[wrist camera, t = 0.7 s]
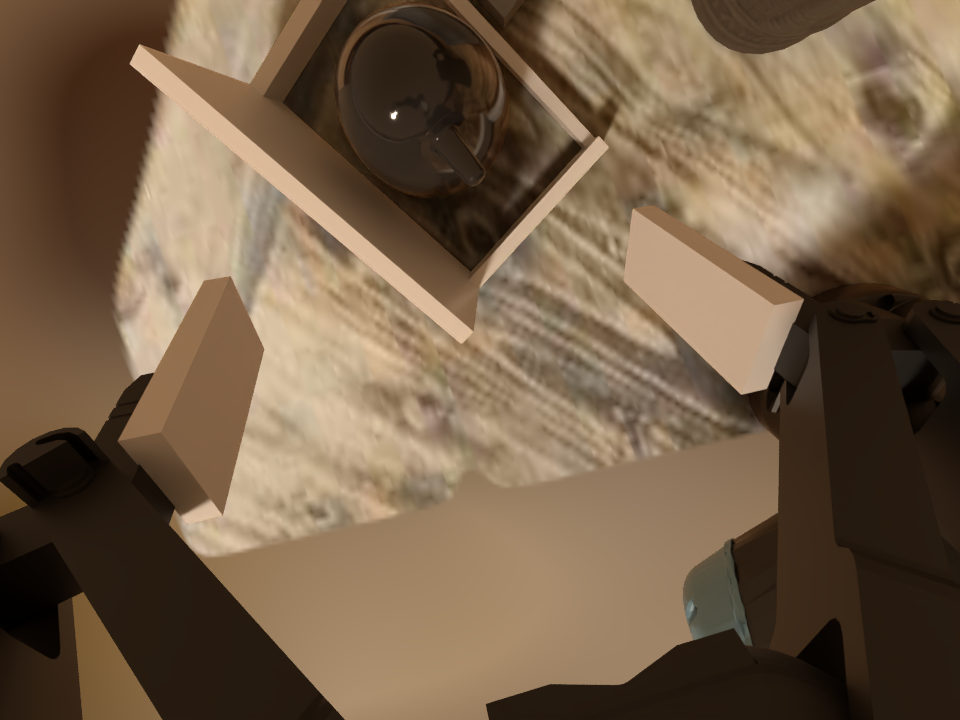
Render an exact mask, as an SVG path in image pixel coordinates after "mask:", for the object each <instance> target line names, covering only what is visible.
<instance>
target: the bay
mask: <svg viewBox="0 0 960 720" xmlns="http://www.w3.org/2000/svg"><path fill="white" fill-rule="evenodd" d="M347 1H348V0H300V2H299V4H298V5H297V7H296V9H295V10H294V12H293V14H292V15H291V17H290V19H289V20H288V22H287V23H286V25H285V27H284V28H283V30H282V32H281V33H280V35H279V37H278V38H277V40H276V42H275V43H274V45H273V47H272V48H271V50H270V52H269V53H268V55H267V57H266V58H265V60H264V62H263V63H262V65H261V67H260V68H259V70H258V72H257V73H256V75H255V77H254V78H253V80H252V82H251V83H250V84H247V83H245V82H242V81H239V80H236V79H234V78H231V77H228V76H225V75H223V74H220V73H217V72H214V71H211V70H209V69H206V68H203V67H200V66H198V65H195V64H192V63H189V62H187V61H184V60H181V59H178V58H176V57H173V56H170V55H167V54H165V53H162V52H159V51H156V50H154V49H151V48H148V47H145V46H143V45H139V46H138V48H137V50H136V53H135V54H134V56H133V59H132V60H131V62H130V65H131V66H133V67H134V68H135V69H136V70H137V71H139V72H140V73H141V74H142V75H143V76H145V77H146V78H147V79H148V80H149V81H151V82H152V83H153V84H154V85H155V86H156V87H157V88H159V89H160V90H161V91H162V92H163V93H165V94H166V95H167V96H168V97H169V98H171V99H172V100H173V101H174V102H175V103H176V104H178V105H179V106H180V107H181V108H182V109H184V110H185V111H186V112H187V113H188V114H189V115H191V116H192V117H193V118H194V119H195V120H197V121H198V122H199V123H200V124H201V125H202V126H204V127H205V128H206V129H207V130H208V131H210V132H211V133H212V134H213V135H214V136H216V137H217V138H218V139H219V140H220V141H221V142H223V143H224V144H225V145H226V146H227V147H229V148H230V149H231V150H232V151H233V152H234V153H236V154H237V155H238V156H239V157H240V158H242V159H243V160H244V161H245V162H246V163H248V164H249V165H250V166H251V167H252V168H253V169H255V170H256V171H257V172H258V173H259V174H261V175H262V176H263V177H264V178H265V179H266V180H268V181H269V182H270V183H271V184H272V185H274V186H275V187H276V188H277V189H278V190H279V191H281V192H282V193H283V194H284V195H285V196H287V197H288V198H289V199H290V200H291V201H293V202H294V203H295V204H296V205H297V206H298V207H300V208H301V209H302V210H303V211H304V212H306V213H307V214H308V215H309V216H310V217H311V218H313V219H314V220H315V221H316V222H317V223H319V224H320V225H321V226H322V227H323V228H325V229H326V230H327V231H328V232H329V233H330V234H332V235H333V236H334V237H335V238H336V239H338V240H339V241H340V242H341V243H342V244H343V245H345V246H346V247H347V248H348V249H349V250H351V251H352V252H353V253H354V254H355V255H356V256H358V257H359V258H360V259H361V260H362V261H364V262H365V263H366V264H367V265H368V266H370V267H371V268H372V269H373V270H374V271H375V272H377V273H378V274H379V275H380V276H381V277H383V278H384V279H385V280H386V281H387V282H388V283H390V284H391V285H392V286H393V287H394V288H396V289H397V290H398V291H399V292H400V293H401V294H403V295H404V296H405V297H406V298H407V299H409V300H410V301H411V302H412V303H413V304H415V305H416V306H417V307H418V308H419V309H420V310H422V311H423V312H424V313H425V314H426V315H428V316H429V317H430V318H431V319H432V320H433V321H435V322H436V323H437V324H438V325H439V326H441V327H442V328H443V329H444V330H445V331H447V332H448V333H449V334H450V335H451V336H452V337H454V338H455V339H456V340H457V341H458V342H460V343H461V344H462V343H463V342H464V341H465V340H466V339H467V338H468V337H469V336H470V335H471V334H472V333H473V332H474V324H475V316H476V308H477V299H478V291H479V288H480V287H481V286H482V285H483V284H484V283H485V282H486V280H487V279H488V278H489V277H490V276H491V275H492V274H493V273H494V272H495V271H496V270H497V269H498V267H499V266H500V265H501V264H502V263H503V262H504V261H505V260H506V259H507V258H508V257H509V255H510V254H511V253H512V252H513V251H514V250H515V249H516V248H517V247H518V246H519V245H520V243H521V242H522V241H523V240H524V239H525V238H526V237H527V236H528V235H529V234H530V233H531V232H532V230H533V229H534V228H535V227H536V226H537V225H538V224H539V223H540V222H541V221H542V220H543V218H544V217H545V216H546V215H547V214H548V213H549V212H550V211H551V210H552V209H553V208H554V207H555V205H556V204H557V203H558V202H559V201H560V200H561V199H562V198H563V197H564V196H565V195H566V193H567V192H568V191H569V190H570V189H571V188H572V187H573V186H574V185H575V184H576V183H577V181H578V180H579V179H580V178H581V177H582V176H583V175H584V174H585V173H586V172H587V171H588V170H589V168H590V167H591V166H592V165H593V164H594V163H595V162H596V161H597V160H598V159H599V158H600V156H601V155H602V154H603V153H604V152H605V151H606V150H607V149H608V148H609V147H608V146H607V144H606V143H605V142H604V141H603V140H602V139H601V138H600V137H599V136H598V137H595V138H594V137H593V135H592V134H591V133H590V132H589V131H588V130H587V129H586V128H585V127H584V126H583V125H582V124H581V122H580V121H579V120H578V119H577V118H576V117H575V116H574V115H573V114H572V113H571V112H570V111H569V109H568V108H567V107H566V106H565V105H564V104H563V103H562V102H561V101H560V100H559V99H558V97H557V96H556V95H555V94H554V93H553V92H552V91H551V90H550V89H549V88H548V87H547V86H546V84H545V83H544V82H543V81H542V80H541V79H540V78H539V77H538V76H537V75H536V74H535V73H534V71H533V70H532V69H531V68H530V67H529V66H528V65H527V64H526V63H525V62H524V61H523V60H522V58H521V57H520V56H519V55H518V54H517V53H516V52H515V51H514V50H513V49H512V48H511V47H510V45H509V44H508V43H507V42H506V41H505V40H504V39H503V38H502V37H501V36H500V35H499V33H498V32H497V31H496V30H495V29H494V28H493V27H492V26H491V25H490V24H489V23H488V22H487V20H486V19H485V18H484V17H483V16H482V15H481V14H480V13H479V12H478V11H477V10H476V9H475V7H474V6H473V5H472V4H471V3H470V2H469V1H468V0H443V1H444V2H445V3H446V4H447V5H448V6H449V7H450V8H451V9H452V10H453V11H454V12H455V14H456V15H457V16H458V17H459V18H460V19H461V20H463V21H464V22H466V23H467V24H468V25H469V26H470V27H471V28H473V29H474V30H475V31H476V32H477V33H478V34H479V36H480V37H481V38H482V39H483V40H484V41H485V43H486V44H487V45H488V47H489V48H490V49H491V51H492V52H493V54H494V55H495V56H496V57H497V58H498V59H499V60H500V62H501V63H502V64H503V65H504V66H505V67H506V68H507V69H508V70H509V71H510V72H511V73H512V74H513V75H514V76H515V78H516V79H517V80H518V81H519V82H520V83H521V84H522V85H523V86H524V87H525V88H526V89H527V90H528V91H529V92H530V94H531V95H532V96H533V97H534V98H535V99H536V100H537V101H538V102H539V103H540V104H541V105H542V106H543V107H544V108H545V110H546V111H547V112H548V113H549V114H550V115H551V116H552V117H553V118H554V119H555V120H556V121H557V122H558V123H559V124H560V126H561V127H562V128H563V129H564V130H565V131H566V132H567V133H568V134H569V135H570V136H571V137H572V138H573V139H574V140H575V142H576V143H577V144H578V145H579V146H580V147H581V148H582V149H581V150H580V151H579V152H578V153H577V154H576V155H575V156H574V157H573V159H572V160H571V161H570V162H569V163H568V164H567V165H566V166H565V167H564V169H563V170H562V171H561V172H560V173H559V174H558V175H557V176H556V177H555V179H554V180H553V181H552V182H551V183H550V184H549V185H548V186H547V187H546V189H545V190H544V191H543V192H542V193H541V194H540V195H539V196H538V198H537V199H536V200H535V201H534V202H533V203H532V204H531V205H530V206H529V208H528V209H527V210H526V211H525V212H524V213H523V214H522V215H521V216H520V218H519V219H518V220H517V221H516V222H515V223H514V224H513V225H512V226H511V228H510V229H509V230H508V231H507V232H506V233H505V234H504V235H503V236H502V238H501V239H500V240H499V241H498V242H497V243H496V244H495V245H494V246H493V248H492V249H491V250H490V251H489V252H488V253H487V254H486V255H485V257H484V258H483V259H482V260H481V261H480V262H479V263H478V264H477V265H476V267H475V268H474V269H473V270H472V271H471V272H470V271H469V270H468V269H467V268H466V267H465V266H464V265H462V264H461V263H460V262H459V261H458V260H457V259H456V258H455V257H454V256H452V255H451V254H450V253H449V252H448V251H447V250H446V249H445V248H444V247H442V246H441V245H440V244H439V243H438V242H437V241H436V240H435V239H434V238H432V237H431V236H430V235H429V234H428V233H427V232H426V231H425V230H424V229H422V228H421V227H420V226H419V225H418V224H417V223H416V222H415V221H414V220H412V219H411V218H410V217H409V216H408V215H407V214H406V213H405V212H404V211H402V210H401V209H400V208H399V207H398V206H397V205H396V204H395V203H394V202H392V201H391V200H390V199H389V198H388V197H387V196H386V195H385V194H384V193H382V192H381V191H380V190H379V189H378V188H377V187H376V186H375V185H374V184H372V183H371V182H370V181H369V180H368V179H367V178H366V177H365V176H364V175H362V174H361V173H360V172H359V171H358V170H357V169H356V168H355V167H354V166H352V165H351V164H350V163H349V162H348V161H347V160H346V159H345V158H344V157H342V156H341V155H340V154H339V153H338V152H337V151H336V150H335V149H334V148H332V147H331V146H330V145H329V144H328V143H327V142H326V141H325V140H324V139H322V138H321V137H320V136H319V135H318V134H317V133H316V132H315V131H313V130H312V129H311V128H310V127H309V126H308V125H307V124H306V123H305V122H303V121H302V120H301V119H300V118H299V117H298V116H297V115H296V114H295V113H293V112H292V111H291V110H290V109H289V108H288V107H287V106H286V105H285V104H283V101H284V100H285V98H286V96H287V95H288V93H289V92H290V90H291V89H292V87H293V85H294V84H295V82H296V81H297V79H298V78H299V76H300V74H301V73H302V71H303V70H304V68H305V67H306V65H307V63H308V62H309V60H310V59H311V57H312V56H313V54H314V52H315V51H316V49H317V48H318V46H319V45H320V43H321V41H322V40H323V38H324V37H325V35H326V34H327V32H328V30H329V29H330V27H331V26H332V24H333V23H334V21H335V19H336V18H337V16H338V15H339V13H340V12H341V10H342V8H343V7H344V5H345V4H346V2H347Z"/></svg>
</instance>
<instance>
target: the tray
mask: <svg viewBox="0 0 960 720" xmlns="http://www.w3.org/2000/svg"><path fill="white" fill-rule="evenodd" d="M478 2H479V3H480V4H481V5H482V6H483V7H484V8H485V9H486V10H487V11H488V12H489V14H490V15H491V16H492V17H493V18H494V19H495V20H496V21H497V22H498V23H499V24H500V26H501V27H502V28H503V29H504V28H505V26H506V25H507V24H508V23H509V21H510V20H511V19H512V17H513V16H514V15H515V13H516V12H517V11H518V9H519V8H520V7H521V6H522V4H523V3H524V2H525V0H478Z"/></svg>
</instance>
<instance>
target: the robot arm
mask: <svg viewBox="0 0 960 720" xmlns="http://www.w3.org/2000/svg"><path fill="white" fill-rule="evenodd" d="M624 282H625V283H626V284H627V285H628V286H629V287H630V288H631V289H632V290H633V291H634V292H635V293H637V294H638V295H639V296H640V297H641V298H642V299H643V300H644V301H645V302H646V303H647V304H648V305H649V306H650V307H651V308H652V309H653V310H654V311H655V312H656V313H657V314H658V315H659V316H660V317H661V318H662V319H663V320H664V321H665V322H666V323H668V324H669V325H670V326H671V327H672V328H673V329H674V330H675V331H676V332H677V333H678V334H679V335H680V336H681V337H682V338H683V339H684V340H685V341H686V342H687V343H688V344H689V345H690V346H691V347H692V348H693V349H694V350H695V351H696V352H698V353H699V354H700V355H701V356H702V357H703V358H704V359H705V360H706V361H707V362H708V363H709V364H710V365H711V366H712V367H713V368H714V369H715V370H716V371H717V372H718V373H719V374H720V375H721V376H722V377H723V378H724V379H725V380H726V381H727V382H729V383H730V384H731V385H732V386H733V387H734V388H735V389H736V390H737V391H738V392H739V393H740V394H741V395H742V394H747V393H749V398H750V402H751V406H752V408H753V411H754V413H755V415H756V416H757V418H758V420H759V421H760V422H761V424H762V425H763V426H764V427H765V428H766V429H767V430H768V431H770V432H771V433H772V434H773V435H774V436H775V437H776V438H777V439H778V440H779V496H778V497H779V498H778V500H779V501H778V513H777V514H775V515H773V516H772V517H770V518H769V519H767V520H765V521H764V522H762V523H760V524H759V525H757V526H755V527H754V528H752V529H750V530H749V531H747V532H746V533H744V534H742V535H741V536H739V537H737V538H736V539H730V540H728V541H727V542H725V544H724V547H723V548H721V549H720V550H719V551H717V552H716V553H714V554H712V555H711V556H710V557H708V558H707V559H705V560H704V561H702V562H701V563H700V564H698V565H697V566H695V567H694V568H693V569H692V570H691V571H690V572H689V574H688V575H687V577H686V580H685V583H684V588H683V602H684V609H685V614H686V618H687V622H688V625H689V628H690V632H691V635H692V638H693V641H690V642H686V643H683V644H680V645H677V646H675V647H674V648H673V649H671V650H670V651H669V652H667V653H666V654H665V655H663V656H662V657H661V658H659V659H658V660H657V661H655V662H654V663H653V664H651V665H650V666H648V667H647V668H646V669H644V670H643V671H642V672H640V673H639V674H638V675H636V676H635V677H634V678H632V679H631V680H630V681H628V682H627V683H625V684H621V685H563V684H562V685H561V684H550V685H547V686H543V687H540V688H537V689H534V690H530V691H527V692H524V693H520V694H517V695H514V696H510V697H507V698H504V699H501V700H497V701H494V702H491V703H488V704H486V707H487V712H488V717H489V720H960V304H958V303H955V304H954V303H953V302H950V301H937V300H929V299H927V298H924V297H922V296H920V295H918V294H915V293H912V292H908V291H905V290H901V289H898V288H895V287H891V286H887V285H881V284H855V285H848V286H843V287H839V288H836V289H833V290H829V291H827V292H824V293H822V294H820V295H817V296H815V297H813V298H811V297H810V296H808V295H807V294H805V293H803V292H802V291H800V290H798V289H797V288H795V287H793V286H792V285H790V284H789V283H785V282H784V280H782V279H780V278H779V277H777V276H773V274H772V273H771V272H769V271H767V270H766V269H764V268H762V267H761V266H759V265H756V264H753V263H750V262H747V261H744V260H740V259H739V258H737V257H736V256H734V255H732V254H731V253H729V252H728V251H726V250H724V249H723V248H721V247H720V246H718V245H716V244H715V243H713V242H712V241H710V240H708V239H707V238H705V237H704V236H702V235H700V234H699V233H697V232H696V231H694V230H692V229H691V228H689V227H688V226H686V225H684V224H683V223H681V222H680V221H678V220H676V219H675V218H673V217H672V216H670V215H668V214H667V213H665V212H664V211H662V210H660V209H659V208H657V207H656V206H654V205H652V206H646V207H640V208H634V209H633V212H632V219H631V227H630V235H629V242H628V250H627V258H626V265H625V273H624ZM263 352H264V347H263V345H262V343H261V341H260V339H259V337H258V335H257V332H256V330H255V328H254V326H253V324H252V322H251V319H250V317H249V315H248V313H247V311H246V309H245V306H244V304H243V302H242V300H241V298H240V296H239V293H238V291H237V289H236V287H235V285H234V283H233V280H232V278H231V276H230V277H224V278H218V279H212V280H206V281H204V282H203V284H202V286H201V287H200V289H199V291H198V293H197V295H196V297H195V299H194V300H193V302H192V304H191V306H190V308H189V310H188V311H187V313H186V315H185V317H184V319H183V321H182V323H181V324H180V326H179V328H178V330H177V332H176V334H175V336H174V337H173V339H172V341H171V343H170V345H169V347H168V349H167V350H166V352H165V354H164V356H163V358H162V360H161V362H160V363H159V365H158V367H157V369H156V371H155V373H150V374H145V375H141V376H140V377H139V378H138V379H136V380H135V381H134V382H133V383H132V384H131V385H130V386H129V387H128V388H126V389H125V390H124V392H123V394H122V395H121V397H120V399H119V400H118V402H117V404H116V408H114V409H113V410H112V412H111V414H110V416H109V417H108V418H109V420H108V421H106V422H105V424H104V426H103V427H102V429H101V431H100V432H99V434H98V436H97V438H96V439H95V441H93V440H92V439H91V437H90V436H89V435H88V434H87V433H86V432H85V431H83V430H81V429H79V428H62V429H58V430H54V431H51V432H48V433H46V434H44V435H41V436H39V437H37V438H34V439H32V440H31V441H29V442H28V443H26V444H24V445H23V446H21V447H20V448H18V449H17V450H16V451H15V452H14V453H12V455H10V456H9V457H8V458H7V459H6V460H5V461H4V463H3V464H2V466H1V468H0V482H2V483H3V484H4V485H5V486H6V487H7V488H9V489H10V490H11V491H12V492H13V493H15V494H16V495H17V496H18V497H19V498H20V499H21V500H23V501H24V502H25V503H26V504H27V506H25V507H23V508H20V509H18V510H16V511H13V512H11V513H8V514H6V515H4V516H1V517H0V720H82V709H81V698H80V686H79V673H78V662H77V650H76V639H75V627H74V616H73V604H72V597H73V596H76V595H78V594H80V593H82V592H84V593H85V595H86V597H87V598H88V600H89V602H90V603H91V605H92V606H93V608H94V610H95V611H96V613H97V615H98V616H99V618H100V619H101V621H102V623H103V624H104V626H105V628H106V629H107V631H108V632H109V634H110V636H111V637H112V639H113V640H114V642H115V643H116V645H117V647H118V649H119V650H120V651H121V653H122V655H123V656H124V658H125V660H126V661H127V663H128V665H129V666H130V668H131V669H132V671H133V673H134V674H135V676H136V677H137V679H138V681H139V682H140V684H141V686H142V687H143V689H144V690H145V692H146V693H147V695H148V697H149V699H150V700H151V702H152V703H153V705H154V706H155V708H156V710H157V711H158V713H159V715H160V716H161V718H162V719H163V720H344V718H343V717H342V716H341V715H340V714H339V713H338V712H337V711H336V709H334V707H333V706H332V705H331V704H330V703H329V702H328V701H327V700H326V699H325V698H324V696H322V694H321V693H320V692H319V691H318V690H317V689H316V688H315V687H314V685H313V684H312V683H311V682H310V681H309V680H308V679H307V678H306V677H305V675H304V674H303V673H302V672H301V671H300V670H299V669H298V668H297V667H296V665H295V664H294V663H293V662H292V661H291V660H290V659H289V658H288V657H287V655H286V654H285V653H284V652H283V651H282V650H281V649H280V648H279V647H278V645H277V644H276V643H275V642H274V641H273V640H272V639H271V638H270V637H269V635H267V633H266V632H265V631H264V630H263V629H262V628H261V627H260V625H259V624H258V623H257V622H256V621H255V620H254V619H253V618H252V617H251V615H250V614H248V612H247V611H246V610H245V609H244V608H243V607H242V606H241V604H240V603H239V602H238V601H237V600H236V599H235V598H234V597H233V596H232V594H231V593H230V592H229V591H228V590H227V589H226V588H225V587H224V585H223V584H222V583H221V582H220V581H219V580H218V579H217V578H216V577H215V575H214V574H213V573H212V572H211V571H210V570H209V569H208V568H207V567H206V566H205V564H204V563H203V562H202V561H201V560H200V559H199V558H198V557H197V555H196V554H195V553H194V552H193V551H192V550H191V549H190V548H189V547H188V545H187V544H186V543H185V542H184V541H183V540H182V539H181V538H180V537H179V535H178V534H177V533H176V532H175V531H174V530H173V529H172V528H171V527H170V526H169V523H170V520H171V517H172V514H173V512H174V509H175V510H176V511H177V513H178V514H179V515H180V516H181V517H182V518H183V520H184V521H185V522H186V523H187V524H189V523H193V522H198V521H202V520H206V519H211V518H215V517H219V516H223V512H224V508H225V504H226V500H227V496H228V492H229V488H230V484H231V480H232V476H233V472H234V468H235V464H236V460H237V456H238V452H239V448H240V444H241V440H242V436H243V432H244V428H245V424H246V420H247V416H248V412H249V408H250V404H251V400H252V396H253V392H254V388H255V384H256V380H257V376H258V372H259V368H260V364H261V360H262V356H263Z"/></svg>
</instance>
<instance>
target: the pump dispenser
mask: <svg viewBox="0 0 960 720" xmlns="http://www.w3.org/2000/svg"><path fill="white" fill-rule="evenodd" d="M334 91H335V102H336V108H337V112H338V116H339V120H340V123H341V126H342V128H343V131H344V133H345V135H346V138H347V140H348V142H349V143H350V145H351V147H352V149H353V150H354V152H355V153H356V155H357V156H358V157H359V159H360V160H361V161H362V163H363V164H364V165H365V166H366V167H367V168H368V169H369V170H370V171H371V172H372V173H373V174H374V175H375V176H376V177H378V178H379V179H380V180H382V181H383V182H384V183H386V184H387V185H389V186H391V187H392V188H394V189H396V190H398V191H400V192H403V193H405V194H408V195H412V196H416V197H422V198H439V197H446V196H450V195H453V194H456V193H458V192H461V191H463V190H465V189H467V188H468V187H470V186H471V187H473V186H476V185H478V184H480V183H481V182H482V181H483V179H484V177H485V174H486V172H487V171H488V170H489V169H490V167H491V166H492V165H493V163H494V162H495V160H496V158H497V156H498V154H499V152H500V150H501V148H502V145H503V143H504V140H505V136H506V132H507V127H508V119H509V100H508V92H507V87H506V83H505V79H504V76H503V73H502V70H501V68H500V66H499V63H498V61H497V59H496V58H495V56H494V54H493V52H492V51H491V49H490V48H489V47H488V45H487V44H486V43H485V41H484V40H483V39H482V38H481V37H480V36H479V34H478V33H477V32H476V31H475V30H474V29H473V28H471V27H470V26H469V25H468V24H467V23H466V22H464V21H463V20H461V19H460V18H459V17H457V16H455V15H454V14H452V13H450V12H448V11H446V10H444V9H441V8H439V7H436V6H433V5H429V4H424V3H416V2H403V3H396V4H391V5H388V6H385V7H382V8H380V9H378V10H376V11H374V12H372V13H371V14H369V15H368V16H367V17H365V18H364V19H363V20H362V21H361V22H360V23H359V24H358V25H357V26H356V27H355V28H354V29H353V30H352V32H351V33H350V35H349V36H348V38H347V39H346V41H345V43H344V45H343V47H342V49H341V52H340V55H339V58H338V61H337V66H336V71H335V81H334Z"/></svg>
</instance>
